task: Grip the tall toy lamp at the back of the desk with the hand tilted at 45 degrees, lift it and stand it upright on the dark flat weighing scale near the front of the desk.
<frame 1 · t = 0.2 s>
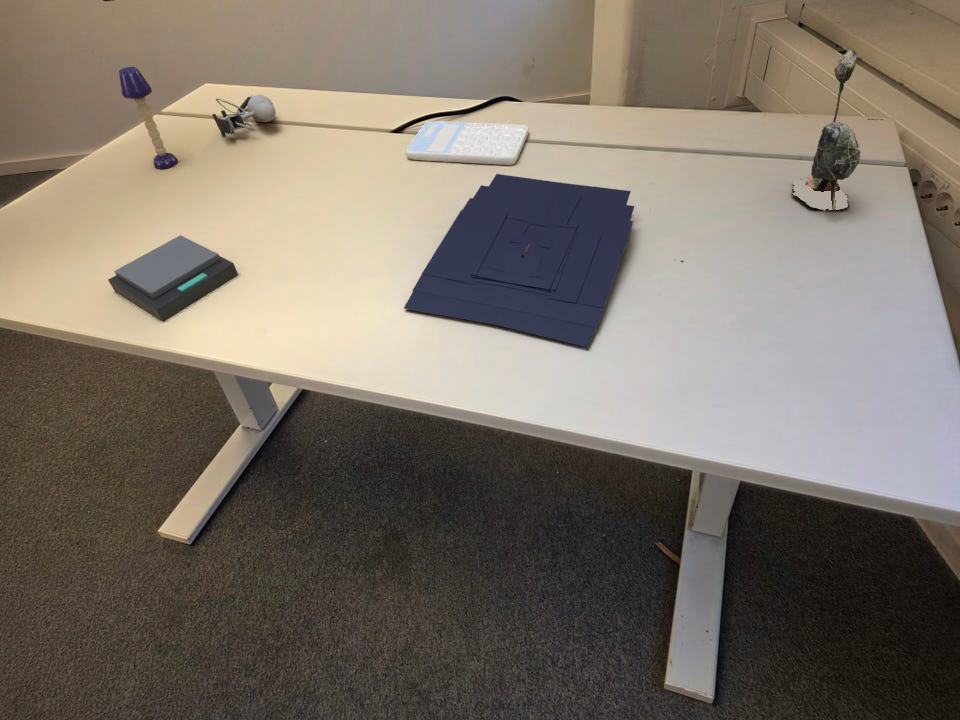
grey stone sculpture: (817, 201, 89), on the table
scale: (176, 282, 84), on the table
navy flat block: (530, 262, 83), on the table
clip-on lamp: (248, 125, 123), on the table
calculator: (468, 147, 109), on the table
toy lamp: (168, 164, 112), on the table
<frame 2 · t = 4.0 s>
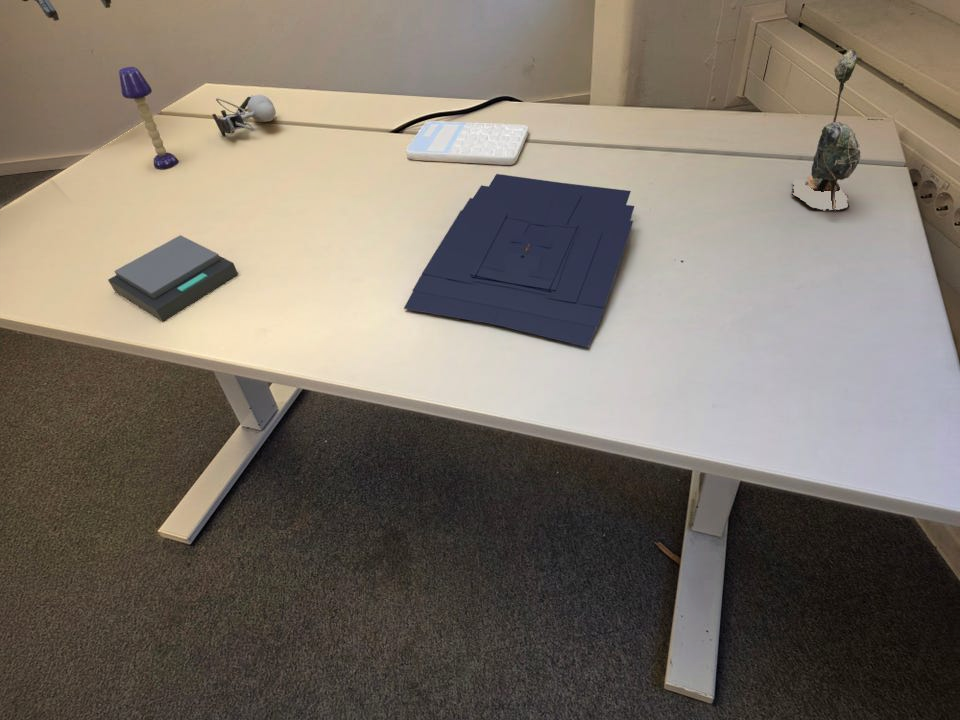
hand: (82, 10, 102), 24 cm above the table, tool tilted 45°, fingers open, 8 cm apart
nothing on the table moved.
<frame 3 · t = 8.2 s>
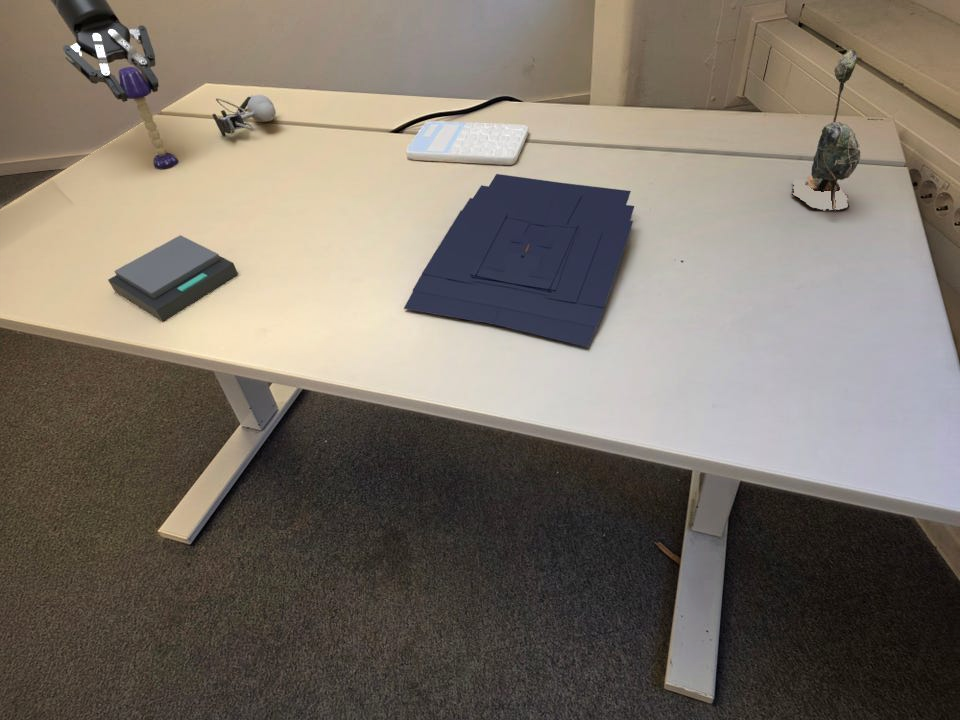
hand: (140, 93, 102), 13 cm above the table, tool tilted 45°, fingers closed on toy lamp, 4 cm apart
toy lamp: (168, 164, 112), on the table, touching gripper
everything else where it was.
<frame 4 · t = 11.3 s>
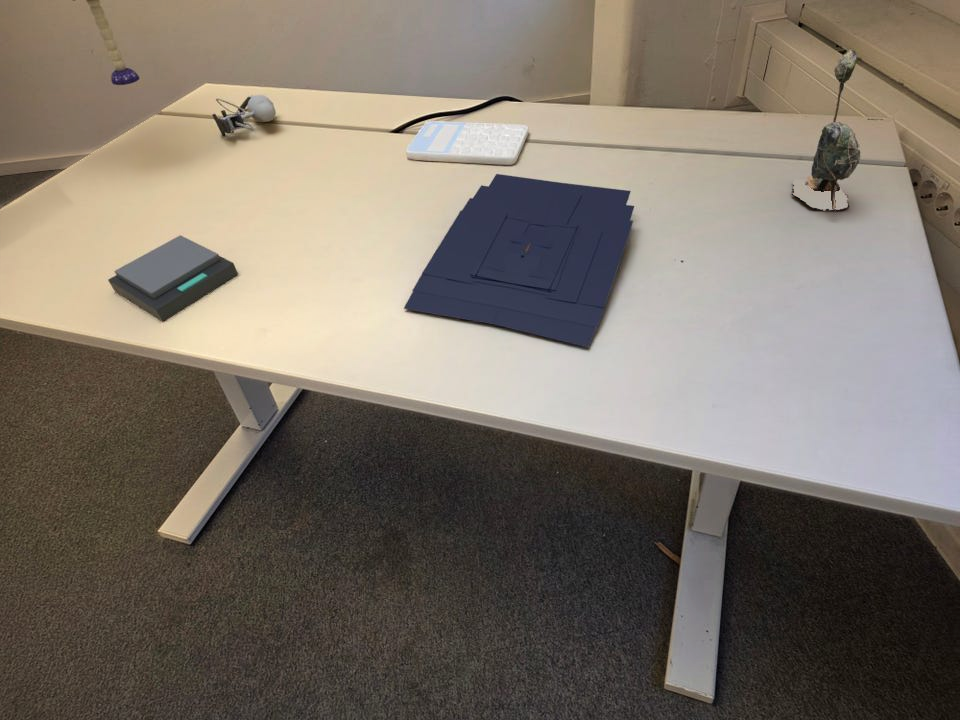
toy lamp: (128, 82, 100), point 15 cm above the table, touching gripper
everything else where it was.
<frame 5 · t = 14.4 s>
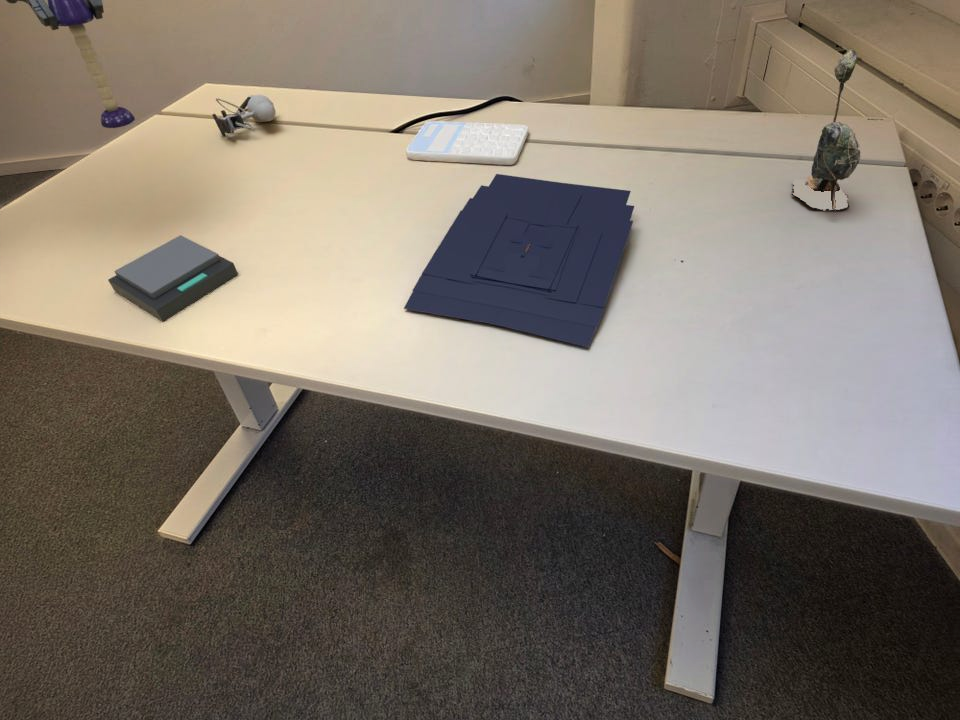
hand: (76, 19, 74), 30 cm above the table, tool tilted 45°, fingers closed on toy lamp, 4 cm apart
toy lamp: (122, 123, 84), point 16 cm above the table, touching gripper
everything else where it was.
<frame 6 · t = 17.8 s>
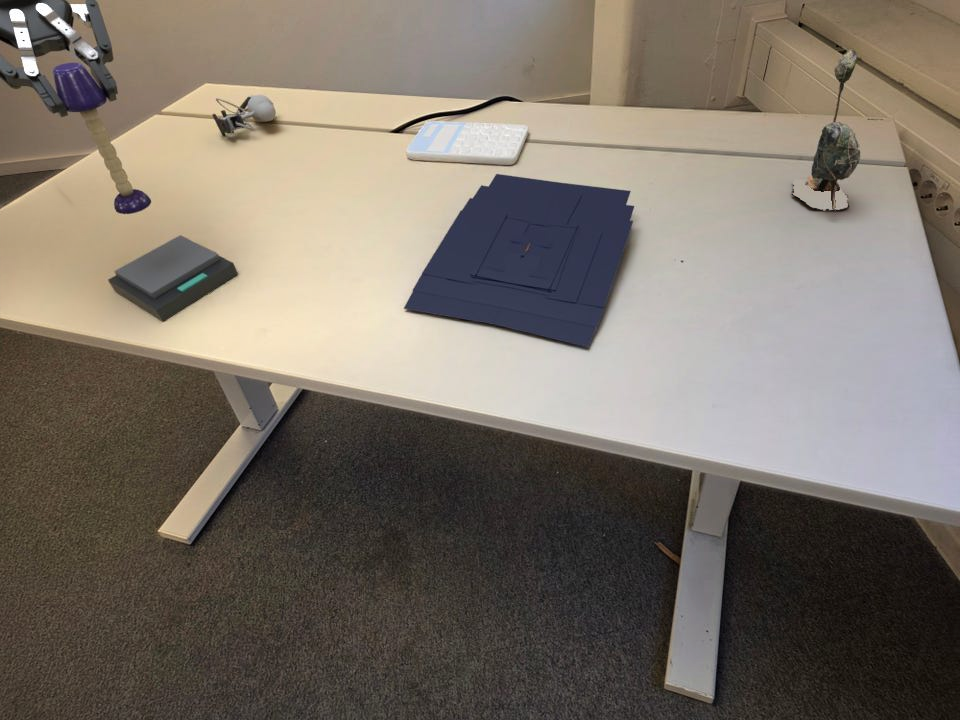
hand: (88, 104, 66), 25 cm above the table, tool tilted 45°, fingers closed on toy lamp, 4 cm apart
toy lamp: (137, 207, 76), point 12 cm above the table, touching gripper
everything else where it was.
when the fingers open (16 cm above the table, at t = 20.7 s): toy lamp stays where it is, resting on scale.
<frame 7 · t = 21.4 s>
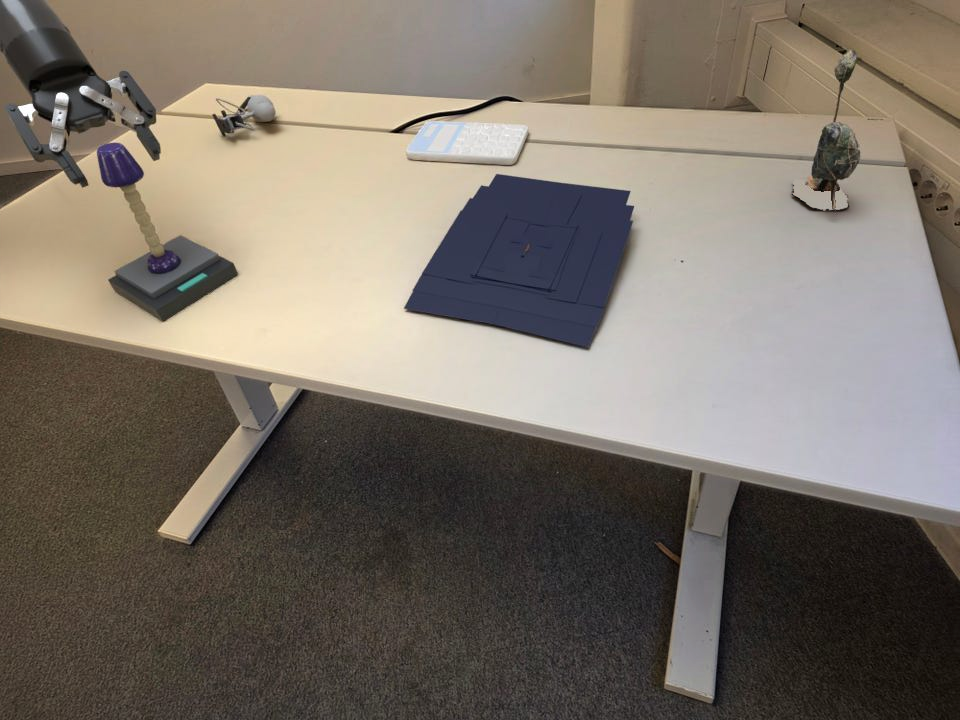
hand: (121, 170, 72), 17 cm above the table, tool tilted 45°, fingers open, 8 cm apart
toy lamp: (168, 266, 82), point 3 cm above the table, touching scale
everything else where it was.
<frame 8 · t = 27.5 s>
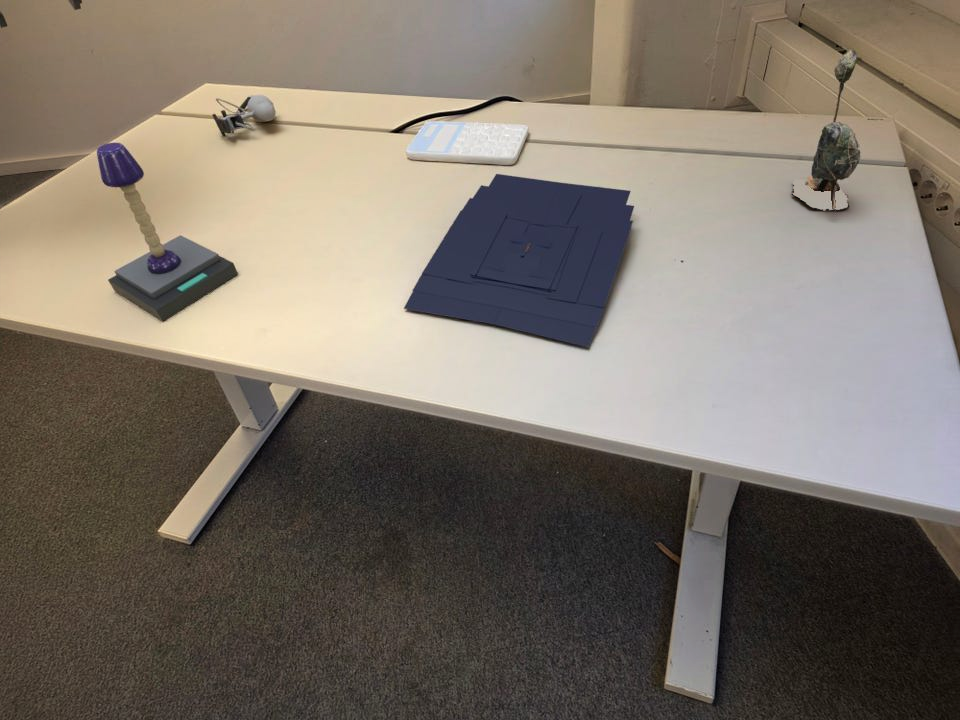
hand: (41, 13, 73), 31 cm above the table, tool tilted 45°, fingers open, 8 cm apart
nothing on the table moved.
at the end: toy lamp inside the target area on the scale (0.1 cm from its centre), point 2.8 cm above the scale's base; toy lamp tilted 0°; the gripper is holding nothing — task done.
